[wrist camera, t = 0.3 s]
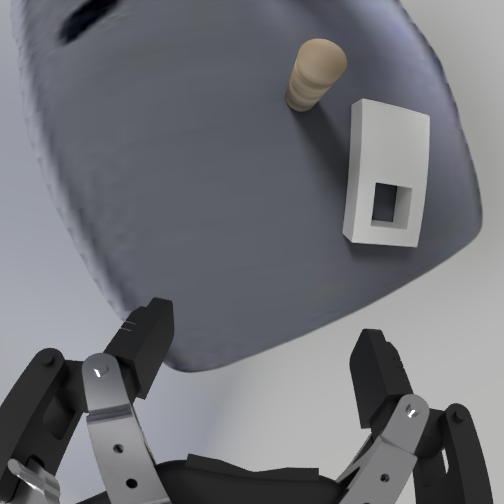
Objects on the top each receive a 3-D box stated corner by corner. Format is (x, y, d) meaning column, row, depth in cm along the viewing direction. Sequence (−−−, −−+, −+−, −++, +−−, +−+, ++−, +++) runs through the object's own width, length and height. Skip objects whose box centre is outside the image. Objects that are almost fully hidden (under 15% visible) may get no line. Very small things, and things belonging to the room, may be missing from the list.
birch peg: (285, 83, 30) (298, 35, 16) (315, 86, 30) (346, 43, 16) (284, 110, 32) (298, 76, 18) (315, 113, 32) (347, 83, 17)
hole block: (351, 104, 31) (362, 98, 27) (413, 119, 31) (429, 115, 26) (342, 233, 37) (351, 242, 32) (402, 238, 36) (416, 247, 32)
